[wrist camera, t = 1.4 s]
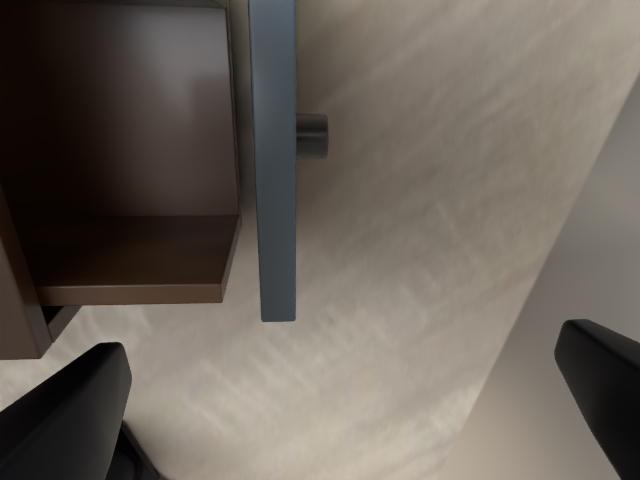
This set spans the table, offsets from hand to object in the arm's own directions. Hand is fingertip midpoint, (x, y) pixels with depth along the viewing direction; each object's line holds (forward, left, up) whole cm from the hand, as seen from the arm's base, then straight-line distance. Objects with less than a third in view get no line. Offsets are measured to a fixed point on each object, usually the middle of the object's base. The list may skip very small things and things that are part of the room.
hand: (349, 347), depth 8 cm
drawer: (+4, +6, -12) cm, 15 cm away
